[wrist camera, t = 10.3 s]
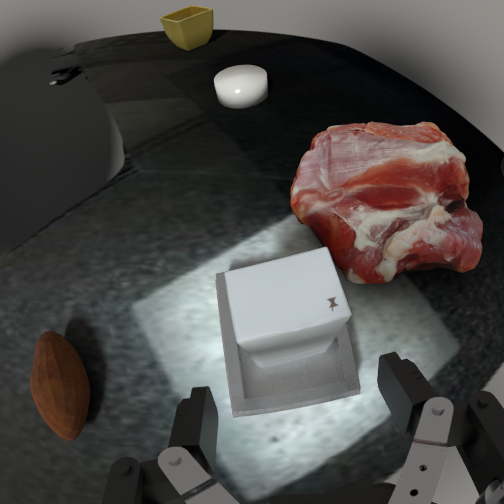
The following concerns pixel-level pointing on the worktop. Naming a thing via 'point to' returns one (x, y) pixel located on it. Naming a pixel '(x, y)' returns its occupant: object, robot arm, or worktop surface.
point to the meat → (387, 200)
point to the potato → (60, 385)
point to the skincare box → (287, 306)
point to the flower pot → (189, 26)
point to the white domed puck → (241, 86)
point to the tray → (284, 372)
